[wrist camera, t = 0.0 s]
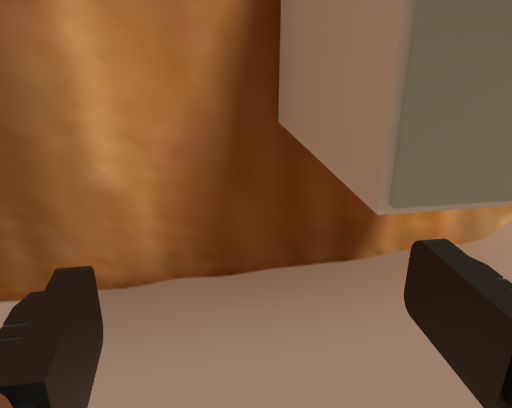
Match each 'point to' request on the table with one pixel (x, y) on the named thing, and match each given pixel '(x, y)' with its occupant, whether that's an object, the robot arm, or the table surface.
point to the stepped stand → (403, 98)
